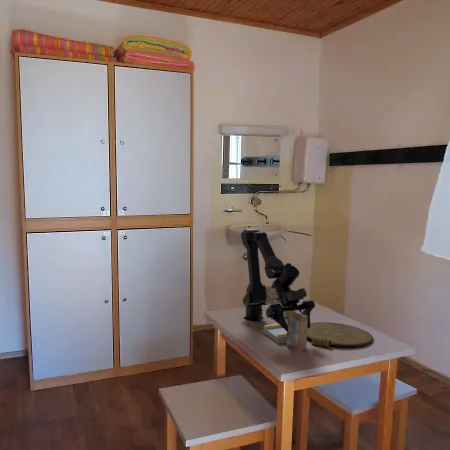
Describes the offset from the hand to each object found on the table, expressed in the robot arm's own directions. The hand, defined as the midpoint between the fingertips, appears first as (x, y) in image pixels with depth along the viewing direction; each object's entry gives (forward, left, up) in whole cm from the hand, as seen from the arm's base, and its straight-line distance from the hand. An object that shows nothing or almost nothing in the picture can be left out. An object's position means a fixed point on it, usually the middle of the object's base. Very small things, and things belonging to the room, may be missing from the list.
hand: (298, 329), depth 157 cm
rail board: (-11, +6, -7) cm, 14 cm away
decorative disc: (+5, +22, -8) cm, 23 cm away
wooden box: (-1, +1, -7) cm, 7 cm away
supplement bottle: (-21, +32, -7) cm, 39 cm away
